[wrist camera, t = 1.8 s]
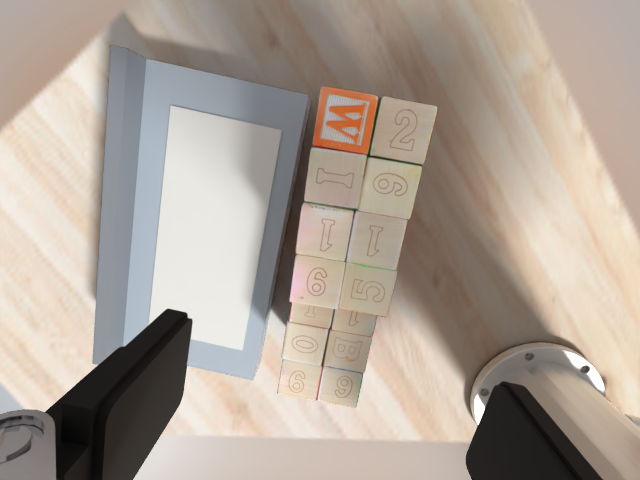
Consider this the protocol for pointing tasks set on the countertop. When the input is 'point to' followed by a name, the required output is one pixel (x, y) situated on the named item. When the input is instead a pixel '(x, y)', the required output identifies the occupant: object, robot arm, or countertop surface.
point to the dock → (194, 207)
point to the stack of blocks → (350, 237)
